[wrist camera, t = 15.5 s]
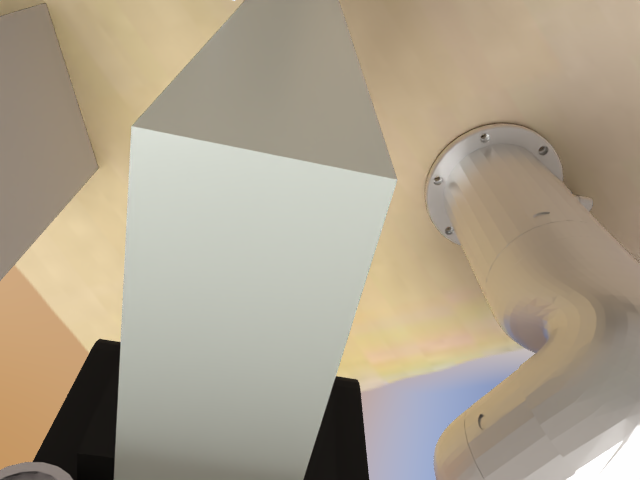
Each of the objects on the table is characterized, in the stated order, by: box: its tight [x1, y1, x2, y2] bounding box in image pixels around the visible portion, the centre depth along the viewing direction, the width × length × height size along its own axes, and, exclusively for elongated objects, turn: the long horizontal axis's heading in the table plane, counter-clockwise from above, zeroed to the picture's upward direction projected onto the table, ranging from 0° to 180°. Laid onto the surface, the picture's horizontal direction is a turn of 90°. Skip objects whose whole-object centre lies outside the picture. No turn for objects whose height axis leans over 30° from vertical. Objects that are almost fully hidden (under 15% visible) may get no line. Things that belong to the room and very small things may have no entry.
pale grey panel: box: [114, 0, 397, 480], centre depth 16 cm, size 2×12×20 cm, turn 168°
